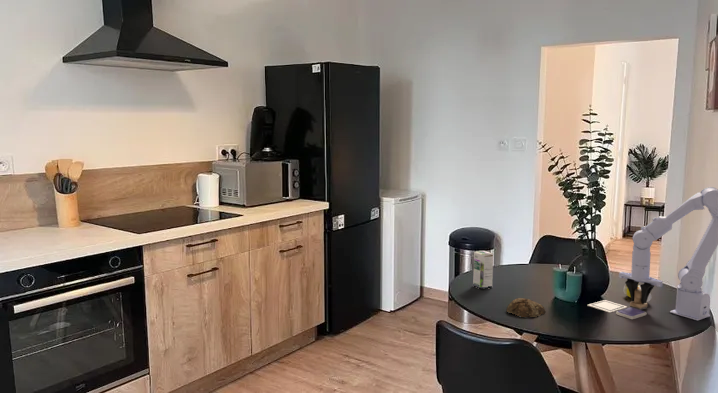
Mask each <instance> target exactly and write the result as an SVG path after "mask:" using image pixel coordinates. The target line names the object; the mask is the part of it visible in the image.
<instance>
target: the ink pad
mask: <svg viewBox="0 0 718 393" xmlns="http://www.w3.org/2000/svg"><path fill="white" fill-rule="evenodd" d="M615 315H618V316H620V317H623V318H626V319H630V320H635V319H638V318H642V317H644V316H647V312H646V311H644V310H639V309H636V308H632V307H630V306H629V307H627V308H624V309H621V310H618V311H615Z"/></svg>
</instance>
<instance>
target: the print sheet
mask: <svg viewBox="0 0 718 393" xmlns="http://www.w3.org/2000/svg"><path fill="white" fill-rule="evenodd" d="M587 307H590V308H594V309H597V310H600V311H604V312H606V313H609V314H611V313H614V312H617V311H620V310H623V309H626V308H628V306H627V305H623V304H620V303H616V302H613V301H610V300H606V299H603V300H600V301H597V302H596V301H595V302H593V303H589V304H587Z"/></svg>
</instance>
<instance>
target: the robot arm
mask: <svg viewBox="0 0 718 393" xmlns="http://www.w3.org/2000/svg"><path fill="white" fill-rule="evenodd" d="M705 207H706V208H707V210H708V211H709V213H710V216H711V218H712V219H711V220H710V222H709V224H708V226H707V228H706V230H705V231H704V234H703V236H702V238H701V239H700V241H699V243H698V245H697V247H696V249H695V250H694V252H693V254H692V256H691V259H689V260H688V261H687V263H686V265H685V266H684V267H682V268H681V269H679V271H678V273H677V276H678V278H677V279H678V280H679V281H680V282H679V284H678V285H676V287H677V288H676V298H675V309H672V310H670V311H669V313H671V314H673V315H678V316H681V317H685V318H688V319H691V320H694V321H700V320H703V319H705V318H709V317H711V315H710V308H711V307H710V306H711V297H710V294H709V293H708V292H707V293H706V292H705V291H703V289H702V287H703V278H704V275H705V273H706V268H707V265H708V263H709V262H710V260H711V259H712V256H713V255H714V253H715V251H716V249H717V247H718V188H716V187H713V186H708V187H705V188H703V189H702V190H701V191H698V192H696V193H695V194H693V195H692V196H690V197H688V198H687V200H685V201H684V202H683V203H681V204H680V205H679V206H678V207H676V208H675V209H673V210H672V211H671V212H670V213H668V214H667V215H665V216H663V215H660V216H657V217H656V216H654V217H653V218H652V221H651V222H649V223H648V224H647V225H645V226H642V227H640V230H637V231H635V232H634V233H633V236H632V237H631V238H632V241H633V246H632V253H631V255H632V256H631V272H624V271H621V272H620V271H619V272H618V278H619V279H625V280H626V281H625V284H624V285H627V287H628V289H629V292H630V296H631V297H630V299H631V301H630V302H632V301H634V294H635V289H637V288H638V285H639V283H641V284H640V287H641V293H642V297H641V303H642V304H645V303H648V302H647V299H648V296H649V294H651V292H652V290H653V289H654V287H658V288H661V287H663V280H661V279H658V278H655V277H651V276H650V273H651V272H650V271H651V254H652V253H651V247H652V245H653V242H654V241H657V240H659V239H661V237H663V236H664V235H666V234H668V232H670V231H671V230H672V228H673V224H674V223H676V222H678V221H679V220H681V219H682V218H684V217H685V216H687V215H688V214H690V213H691V212H693V211H697V210H698V211H699V210H700V211H701V210H705Z"/></svg>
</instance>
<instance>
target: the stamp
mask: <svg viewBox="0 0 718 393" xmlns="http://www.w3.org/2000/svg"><path fill="white" fill-rule="evenodd" d="M641 297H642V293H641V289H635V294H634V301H630V303H629V308H630V307H632V308H635V309H638V310H641V311H643V310H645V309H647V308H648V302H646V303H645V304H642V303H641Z"/></svg>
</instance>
